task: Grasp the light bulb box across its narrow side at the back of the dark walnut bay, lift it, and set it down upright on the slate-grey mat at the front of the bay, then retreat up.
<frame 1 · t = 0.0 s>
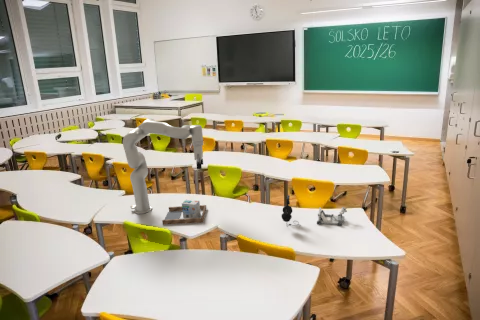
hand: (200, 166, 238), 31 cm above the table, fingers open, 9 cm apart
light bulb box: (192, 216, 234), resting in bay
toy car: (331, 222, 214), on the table
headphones: (291, 226, 211), on the table
bay: (184, 216, 234), on the table
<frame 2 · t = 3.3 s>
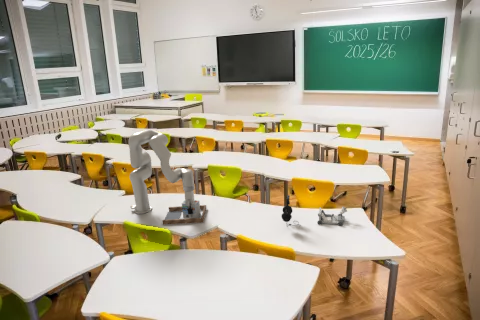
hand: (191, 210, 232), 4 cm above the table, fingers closed on light bulb box, 8 cm apart
light bulb box: (192, 216, 234), resting in bay, touching gripper
everything else where it was.
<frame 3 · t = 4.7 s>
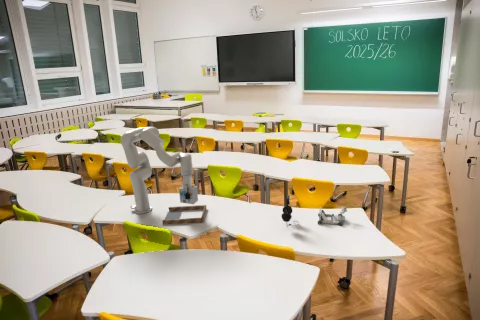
hand: (188, 196, 229), 15 cm above the table, fingers closed on light bulb box, 8 cm apart
light bulb box: (189, 201, 231), point 11 cm above the table, touching gripper
everything else where it was.
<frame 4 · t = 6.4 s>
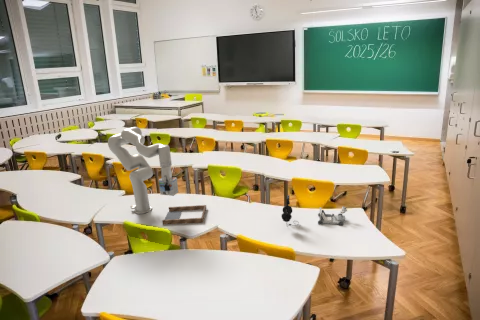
hand: (168, 188, 228), 22 cm above the table, fingers closed on light bulb box, 8 cm apart
light bulb box: (169, 193, 229), point 17 cm above the table, touching gripper
everything else where it was.
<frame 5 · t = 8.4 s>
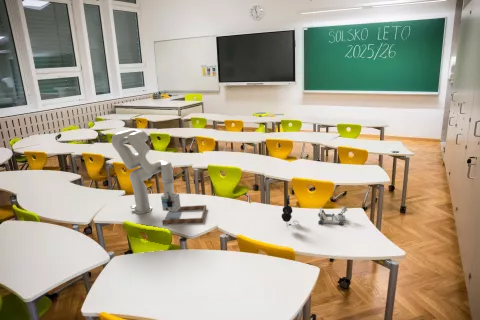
hand: (171, 204, 231), 10 cm above the table, fingers closed on light bulb box, 8 cm apart
light bulb box: (172, 209, 232), point 6 cm above the table, touching gripper
everything else where it was.
when the fingers open (5 cm above the table, at t = 10.0 s): light bulb box drops 1 cm, resting on bay.
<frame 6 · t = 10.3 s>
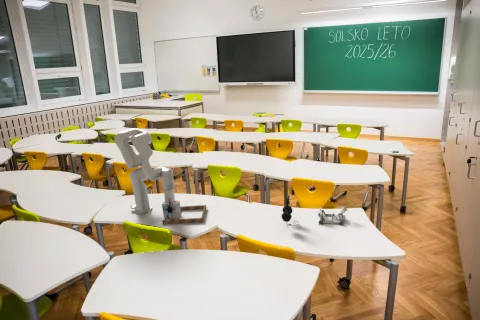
hand: (171, 209, 232), 6 cm above the table, fingers open, 9 cm apart
light bulb box: (172, 216, 234), resting on bay
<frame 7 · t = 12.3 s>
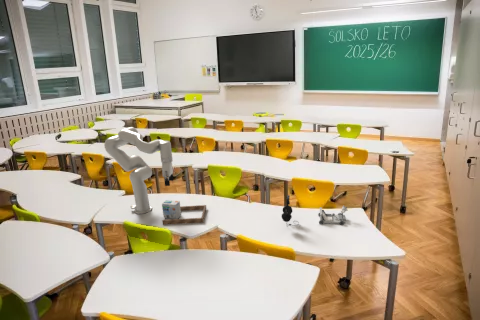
hand: (169, 183, 231), 24 cm above the table, fingers open, 9 cm apart
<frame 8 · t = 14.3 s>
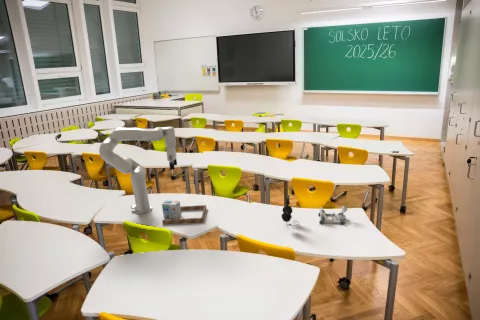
hand: (173, 167, 243), 30 cm above the table, fingers open, 9 cm apart
at the end: light bulb box inside the target area on the bay (0.6 cm from its centre), point 0.1 cm above the bay's base; light bulb box tilted 0°; the gripper is holding nothing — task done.
